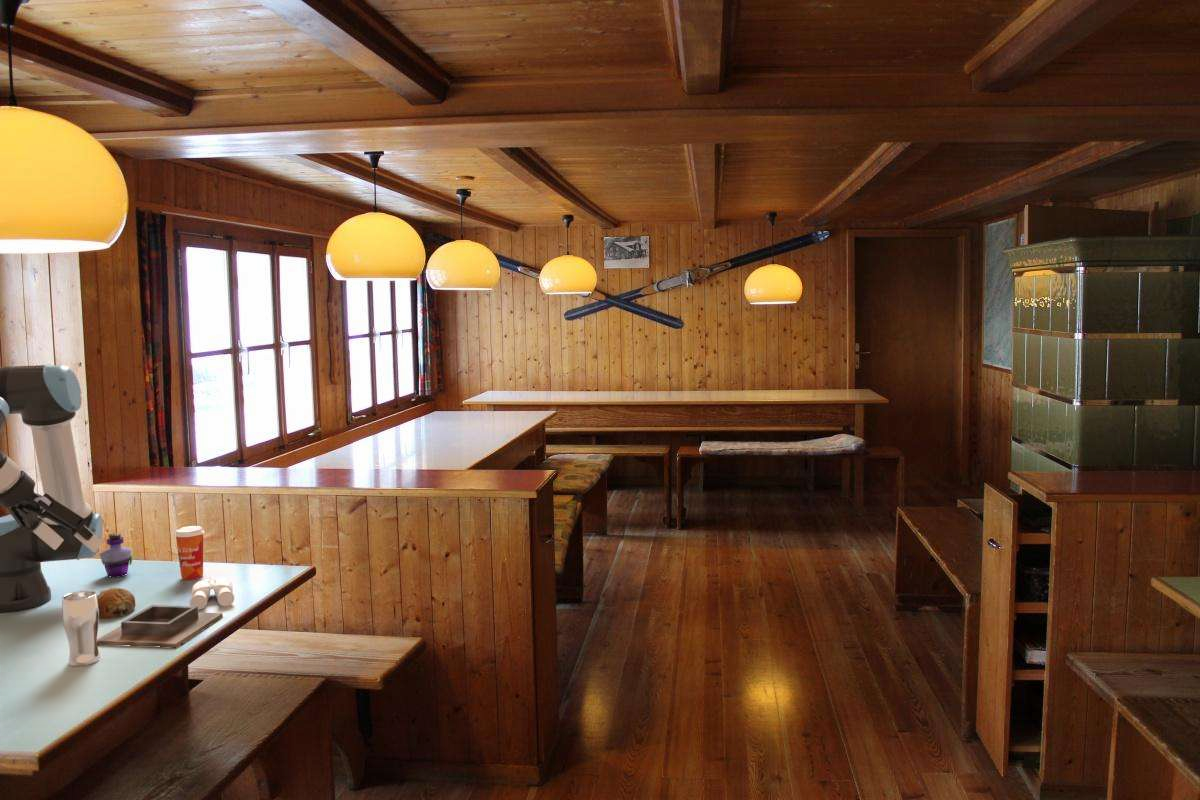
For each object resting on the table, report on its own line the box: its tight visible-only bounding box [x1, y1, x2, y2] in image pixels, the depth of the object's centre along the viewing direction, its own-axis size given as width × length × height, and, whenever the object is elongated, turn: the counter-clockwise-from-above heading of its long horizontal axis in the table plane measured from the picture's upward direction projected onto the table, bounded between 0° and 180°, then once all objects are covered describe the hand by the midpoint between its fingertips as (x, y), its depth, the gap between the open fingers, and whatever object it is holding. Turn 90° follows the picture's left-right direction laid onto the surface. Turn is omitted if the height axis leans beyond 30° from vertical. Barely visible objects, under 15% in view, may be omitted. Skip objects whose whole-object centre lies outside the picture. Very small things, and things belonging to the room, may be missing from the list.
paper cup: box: [174, 525, 205, 581], centre depth 262 cm, size 8×8×14 cm
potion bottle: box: [99, 532, 133, 578], centre depth 265 cm, size 9×9×12 cm
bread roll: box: [97, 587, 136, 619], centre depth 235 cm, size 10×10×8 cm
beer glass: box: [61, 590, 101, 667], centre depth 202 cm, size 7×7×15 cm
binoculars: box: [189, 576, 235, 611], centre depth 244 cm, size 10×16×5 cm, turn 23°
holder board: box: [97, 604, 224, 648], centre depth 221 cm, size 20×20×4 cm
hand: (78, 546), depth 201 cm, fingers open, 13 cm apart
